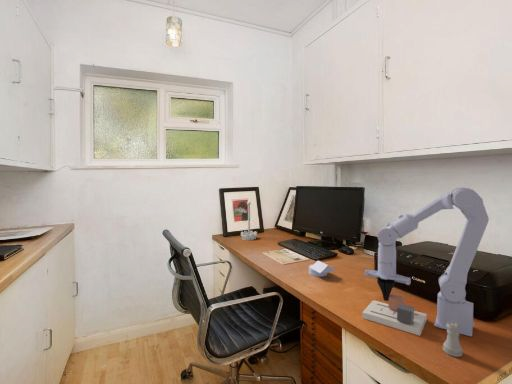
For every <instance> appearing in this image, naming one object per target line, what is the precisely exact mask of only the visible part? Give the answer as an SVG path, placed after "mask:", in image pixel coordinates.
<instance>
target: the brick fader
mask: <svg viewBox="0 0 512 384" xmlns="http://www.w3.org/2000/svg"><path fill="white" fill-rule="evenodd" d="M388 304H389V309H392V310H396V311H397V308H398V306H399V304H404V305H405V296H404V295H401V294H397V293H390V296H389V300H388Z"/></svg>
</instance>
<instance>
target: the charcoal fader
mask: <svg viewBox="0 0 512 384" xmlns="http://www.w3.org/2000/svg"><path fill="white" fill-rule="evenodd" d="M414 311H415V306H411V305H408V304H405V303H404V304H399V306H398V308H397V321H401V322H404V323H408V324H412V322H413V320H414Z"/></svg>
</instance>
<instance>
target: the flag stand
mask: <svg viewBox="0 0 512 384" xmlns="http://www.w3.org/2000/svg"><path fill="white" fill-rule="evenodd" d="M246 203H247V204H246V205H247V230H244V231H241V232H240V236H241V239H242V240H244V241H255V240H256V239H257V236H258V231H253V230H251V223H250V222H251V204H252V203H251V202H250V201H247V202H246ZM254 239H255V240H254Z"/></svg>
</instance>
